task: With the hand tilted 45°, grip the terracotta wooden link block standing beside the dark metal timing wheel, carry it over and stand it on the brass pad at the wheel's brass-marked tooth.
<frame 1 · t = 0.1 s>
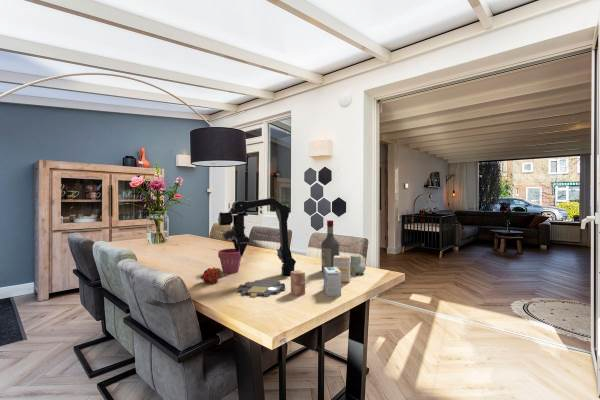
hand: (239, 253, 164), 15 cm above the table, fingers open, 9 cm apart
dragon fruit: (211, 282, 164), on the table
link block: (297, 293, 144), on the table
liquor: (330, 271, 183), on the table
air freshener: (355, 273, 179), on the table
supplement box: (342, 281, 163), on the table
plant pot: (230, 272, 185), on the table
light bulb box: (332, 292, 145), on the table
timing wheel: (261, 288, 151), on the table
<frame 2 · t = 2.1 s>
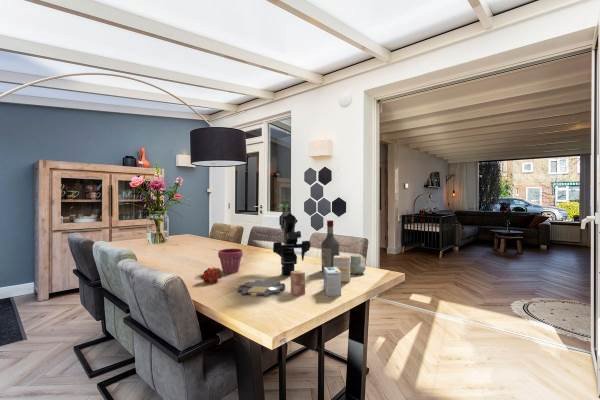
hand: (293, 260, 152), 13 cm above the table, fingers open, 9 cm apart
nothing on the table moved.
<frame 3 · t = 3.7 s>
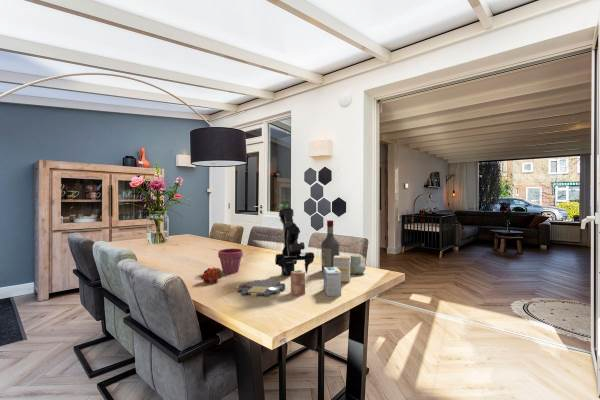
hand: (297, 273, 145), 9 cm above the table, fingers open, 9 cm apart
nothing on the table moved.
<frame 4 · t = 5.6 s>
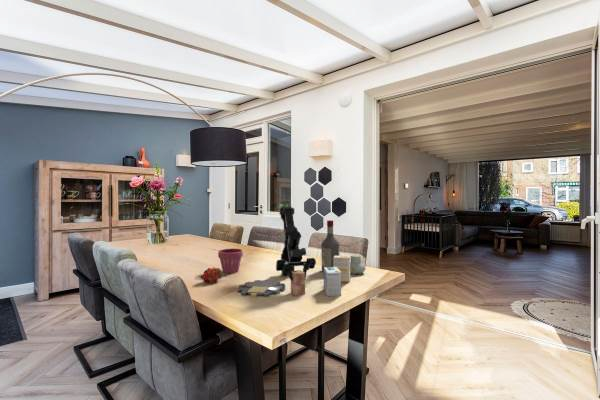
hand: (298, 280, 143), 7 cm above the table, fingers closed on link block, 6 cm apart
link block: (297, 293, 144), on the table, touching gripper
everything else where it was.
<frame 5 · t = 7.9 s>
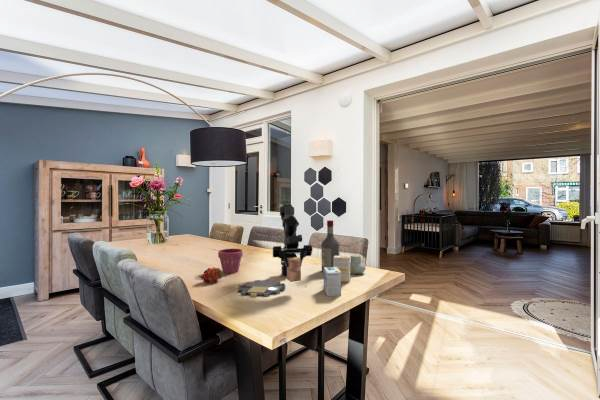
hand: (294, 266, 142), 13 cm above the table, fingers closed on link block, 6 cm apart
link block: (293, 279, 144), point 6 cm above the table, touching gripper
everything else where it was.
when the fingers open (9 cm above the table, at t = 10.6 s): link block drops 1 cm, resting on timing wheel.
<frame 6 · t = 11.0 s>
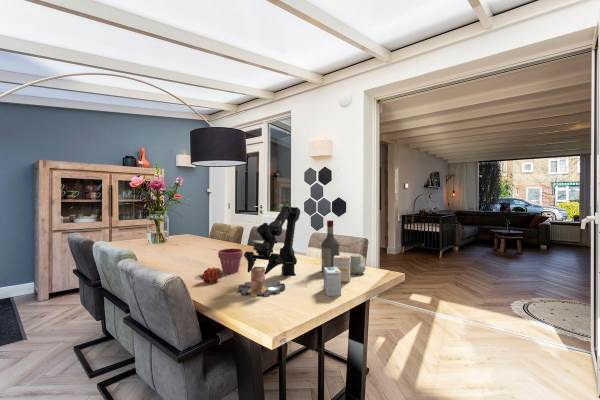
hand: (256, 273, 145), 9 cm above the table, fingers open, 9 cm apart
link block: (258, 289, 146), point 1 cm above the table, touching timing wheel
everything else where it was.
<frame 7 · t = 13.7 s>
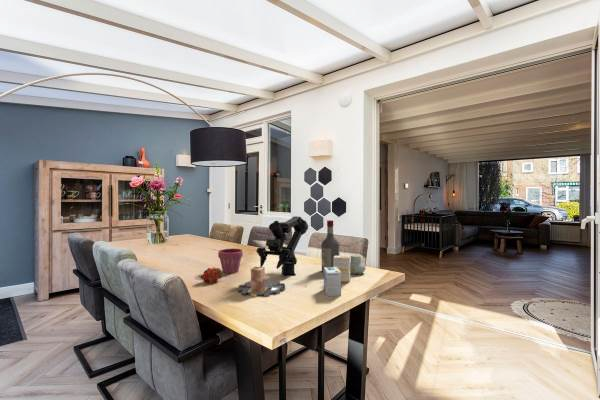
hand: (268, 267, 156), 9 cm above the table, fingers open, 9 cm apart
nothing on the table moved.
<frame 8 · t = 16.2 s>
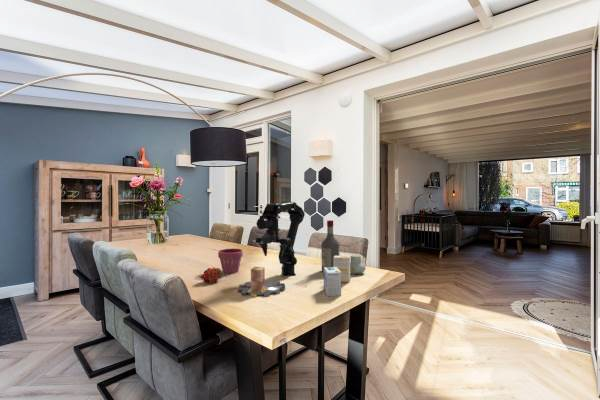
hand: (273, 256, 164), 13 cm above the table, fingers open, 9 cm apart
nothing on the table moved.
at the end: link block 0.2 cm from the target spot on the timing wheel, point 1.4 cm above the timing wheel's base; link block tilted 0°; the gripper is holding nothing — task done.
